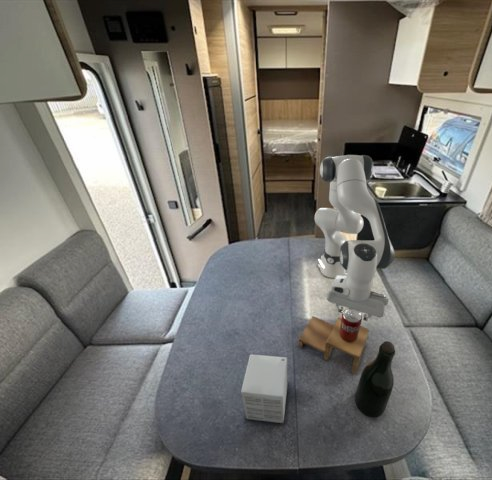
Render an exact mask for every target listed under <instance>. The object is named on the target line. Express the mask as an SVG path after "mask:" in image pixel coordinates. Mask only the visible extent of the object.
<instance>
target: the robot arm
mask: <svg viewBox="0 0 492 480" xmlns="http://www.w3.org/2000/svg"><path fill="white" fill-rule="evenodd" d="M373 172H374V162H373V159H372V157H371V156H369V155H367V154H362V155H358V154H346V155H336V156H327V157H324V158H323V159H322V160H321V162H320V166H319V174H320V177H321V179H322V180H323V181H324V182H327V183H329V190H328V191H329V193H328V201H329V203H330V205H331V206H332V207H333V208H332V207H319V208H318V209H317V210H316V212H315V214H314V216H313V217H314V218H313V219H314V222H315V225H317V226H318V228H320V230H321V231H322V233H323V236H324V240H325V242H324V243H325V244H324V250H323V254H322V255H321V256H320V259H318V263H317V267H318V269H319V270H320V272H321V274H322V275H323V276H325V277H328V278H331V279H333V281H332V283H331V284H330V287H329V289H328V291H327V294H326V300H327V302H329V303H332V304H335V307H336V308H337V312H338V313H341V314H342V313H343V311H344V308H346V309H348V308H351V309H354V310H357V311H359V312H360V313H363V317H362V321H364V322H365V321H366V322H368V320H369V319H370V318H372V317H377V318H380V319H381V318H383V317H384V314H385V308H386V307H387V305H388V304H389V298H388V297H387V296H386V295H385V294H382V293H378V292H376V291H372V289H373V285H374V281H373V280H374V278H375V276H376V273H377V269H381V270H382V269H383V270H385V269H386V268H388V267H390V266H391V265H392V264H393V263H394V262H395V261H394V260H395V249H394V247H393V244H392V241H391V240H390V237H389V234H388V230H387V228H386V223H385V220H384V217H383V212H382V209H381V206H380V204H379V202H378V200H377V199H376V198H374V197H373V196H372V195H371V194H370V192H369V190H368V187H367V185H368V184H367V180H369V179H370V178H371V177H372V175H373ZM362 216H363V217H365V218H366V219H367V220H368V221H369V222H368V223H369V225H370V228H371V232H372V235H373V239H374V240H371V239H370V240H363V239H350V240H349V239H348V240H347V239H346V236H344V235H343V234H347V235H348V234H349V235H357V234H359V233H360V232H361V231H362V230H363V228H364V224H365V223H364V218H363V217H362ZM342 233H343V234H342Z"/></svg>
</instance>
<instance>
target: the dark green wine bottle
mask: <svg viewBox="0 0 492 480" xmlns="http://www.w3.org/2000/svg"><path fill="white" fill-rule="evenodd" d="M395 355H396V349H395V345H394V344H393V342H392V341H389V340H385V341H383V342H382V343H381V344H380V345H379V348H378V352H377V354H376V357H375V358H374V359H373V360H371V361H370V362H368V363H367V364H366V365H365V367H364V368H363V369H362V372H361V373H360V378H359V380H358V384H357V388H356V391H355V394H354V402H355V403H354V404H355V405H356V408H357V409H358V411H359V412H360V413H361V414H362V415H364V416H365V417H367V418H371V419H377V418H379V417H381V416H383V414H384V413H385V411H386V409H387V406H388V403H389V401H390V398H391V396H392V392H393V389H394V384H395V383H394V374H393V371H392V363H393V359H394V357H395Z"/></svg>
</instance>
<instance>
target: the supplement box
mask: <svg viewBox="0 0 492 480" xmlns="http://www.w3.org/2000/svg"><path fill="white" fill-rule="evenodd" d="M247 361H248V362H247V366H246V370H245V374H244V378H243V382H242V387H241V389H240V390H241V391H240V393H241V398H242V403H243V408H244V413H245V419H247V420H253V421H262V422H271V423H277V424H278V423H280V424H284V421H285V411H286V403H287V395H288V394H287V393H288V386H289V385H288V380H289V379H288V357H285V356H273V355H263V354H262V355H261V354H249V358H248V360H247Z"/></svg>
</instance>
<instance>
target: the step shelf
mask: <svg viewBox="0 0 492 480" xmlns="http://www.w3.org/2000/svg"><path fill="white" fill-rule="evenodd" d="M341 319H342V317H340V316H339V317H338V318H337V319H336V320H335V323H334V324H333V323H331V322H328V321H326V320H324V319H321V318H319V317H316V316H314V315H312V317H311V318H310V320H309V321H308V324H307V325H306V326H305V328H304V330H303V331H302V333H301V335H300V336H299V338H298V347H299V348H301V349H302V348H304V345H306V346H309V347H310V348H313V349H314V350H317V351H319V352H322V353H323V359H324V360H326V361H328V360H329V358H330V355H331V353H332V351H333V349H336V350H338V351H340V352H343V353H345V354H347V355H349V356H351V357H353V362H352V367H351V369H350V370H351V371H350V372H351V373H353V374H356V373H357V370H358V366H359V364H360V361H361V358H362V356H363V353H364V350H365V346H366V342H367V340H368V335H369V331H370V328H367V327H364V326H362V325H361V326H360V330H359V334H358V338H357V340H356V341H354V342H346V341H344V340H343V339H342V338H341V337H340V335H339V331H340V325H341Z"/></svg>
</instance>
